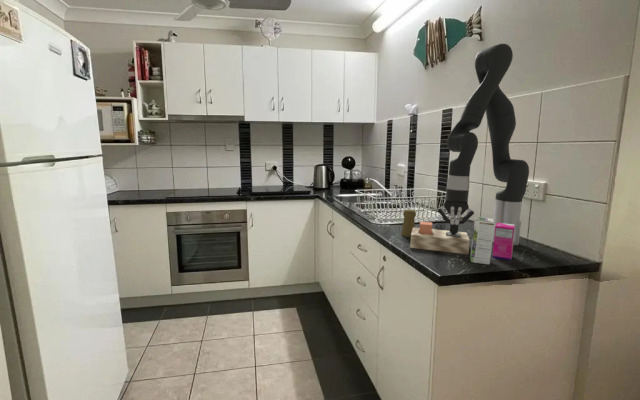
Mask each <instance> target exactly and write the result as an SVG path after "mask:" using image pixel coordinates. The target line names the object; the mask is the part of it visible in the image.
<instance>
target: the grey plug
mask: <svg viewBox="0 0 640 400" xmlns="http://www.w3.org/2000/svg"><path fill="white" fill-rule="evenodd" d="M447 236H451V237H460V233H456V235H454V234H451V233H450V232H447Z"/></svg>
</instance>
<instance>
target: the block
mask: <svg viewBox="0 0 640 400" xmlns="http://www.w3.org/2000/svg"><path fill="white" fill-rule="evenodd" d="M419 230H420V227H416V226H415V227H413V229H412V233H411V237H410V246H409V248H411V249H418V250H426V251H427V250H428V251H437V252H442V253H443V252H446V253H452V254H462V255H469V251H470V244H471V243H470V237H469V235H468V233H467V232H466V231H465V232H464V231H458V233H460V237H451V236H447V232H450V230H446V229H445V230H443V229H433V228H432V234H422V233H419Z"/></svg>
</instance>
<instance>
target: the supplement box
mask: <svg viewBox="0 0 640 400" xmlns="http://www.w3.org/2000/svg"><path fill="white" fill-rule="evenodd" d="M514 229H515V225H514V224H505V223H497V224H496V226H495V235H494V242H493V245H492V249H493V250H492V258H495V259H501V260H505V261H512V260H513V259H512V258H513V250H514V249H513V248H514V245H513V240H514Z"/></svg>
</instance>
